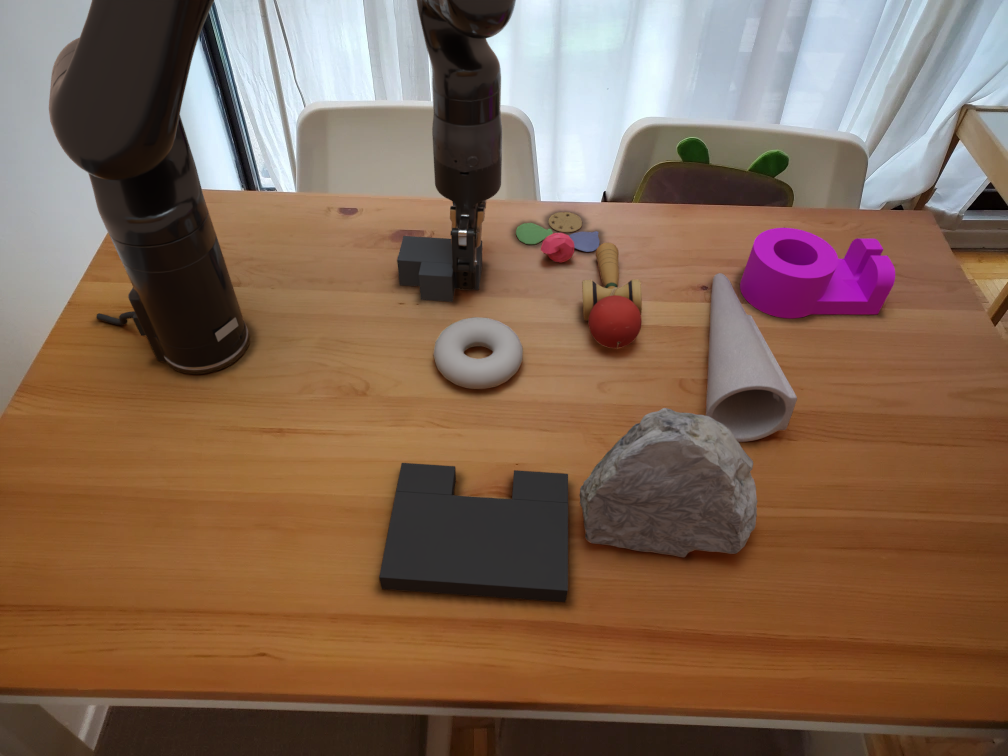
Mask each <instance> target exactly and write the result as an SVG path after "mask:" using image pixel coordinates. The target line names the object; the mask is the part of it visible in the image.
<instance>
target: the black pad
mask: <svg viewBox="0 0 1008 756" xmlns="http://www.w3.org/2000/svg"><path fill="white" fill-rule="evenodd" d="M456 469H457V468H456V466H455V465H445V464H444V465H442V464H427V463H413V462H401V463H400V469H399V474H398V479H397V480H398V481H397V485H396V490H395V493H394V499H393V503H392V510H391V515H390V520H389V525H388V530H387V536H386V540H385V545H384V550H383V555H382V561H381V566H380V569H379V570H380V571H379V576H378V578H379V583H380V588H381V590H388V591H400V592H401V591H402V592H416V593H431V594H432V593H433V594H445V595H458V596H474V597H488V598H500V599H513V600H516V599H517V600H528V601H543V602H558V603H566V602H567V598H568V592H569V473H563V472H550V471H549V472H546V471H534V470H533V471H532V470H516V469H514V470H513V478H512V492H511V493H512V494H511V498H501V497H485V496H472V495H471V496H469V495H455V490H456V483H457V475H456V474H457V472H456V471H457V470H456Z"/></svg>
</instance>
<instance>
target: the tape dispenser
mask: <svg viewBox="0 0 1008 756" xmlns="http://www.w3.org/2000/svg"><path fill="white" fill-rule="evenodd" d="M883 251H884V248H883V246H882V244H881V243H880V241H879V240H878V239H877V238H872V237H871V238H870V237H869V238H864V237H863V238H859V237H856V238H854V239H853V240H852V241H851V242H850V245H849V246H848V249H847V250H846V254H845V255H844V257H843V258H839V256H838V253H837V252H836V250H835V248H834V247H833V246H832V245H831V244H830V243H829V242H828V241H826V240H825V239H824V238H822V237H820V236H818V235H817V234H814V233H812V232H810V231H806V230H803V229H798V228H793V227H775V228H769V229H766V230H764V231H762V232H760V233H759V234H758V235H757V236H756V237H755V239H754V240H753V243H752V246H751V250H750V253H749V256H748V258H747V261H746V264H745V266H744V271H743V273H742V276H741V278H740V282H739V290H740V293H741V295H742V297H743V298H744V299H745V301H747V303H749V304H750V305H751V306H752V307H753V308H755V309H756V310H759V311H760V312H761V313H763V314H764V313H765V314H767V315H770V316H773V317H775V318H781V319H801V318H804V317H808V316H810V315H879V313H880V311H881V309H882V308H883V305H884V304H885V302H886V300H887V298H888V296H889V295H890V293H891V291H892V290H893V287H894V285H895V282H896V281H895V280H896V268H895V266H894V264H893V262H892V260H891V258H890V257H889V256H888V255H882V253H883Z"/></svg>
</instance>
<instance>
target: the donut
mask: <svg viewBox="0 0 1008 756" xmlns="http://www.w3.org/2000/svg"><path fill="white" fill-rule="evenodd" d="M473 347H483V348H487V349H488V350H490V351H492V353H491V354H490V355H488V356H486V357H482V358H475V357H471V356H469V355H467V354H465V351H466V350H468V349H470V348H473ZM523 348H524V347H523V345H522V342H521V340H520V337H519V336H518V334H517V333H516V332H515V330H513V328H511V327H510V326H509V325H507V324H505V323H504V322H502V321H500V320H497V319H493V318H490V317H480V316H479V317H478V316H472V317H467V318H463V319H460V320H457V321H454V322H453V323H450V325H448V326H447V327H445V328H444V329H443V330H442V331H441V332H440V334H439V335H438V337H437V339H436V340H435V342H434V349H433V355H432V356H433V359H434V362H435V365H436V366H435V367H436V369H437V370H438V371H439V372H440V374H441V375H442V376H443V377H444V378H445V379H446V380H448V381H449V382H451V383H453V384H454V385H456V386H459V387H461V388H464V389H470V390H471V389H472V390H486V389H490V388H496V387H498V386H500V385H502V384H504V383H506V382H508V381H509V380H510V379H511V378H512V377H513V376H514V375H515V374H516V373H517V372H518V371H519V368H520V366H521V364H522V362H523V356H524V355H523V354H524V353H523V352H524V349H523Z"/></svg>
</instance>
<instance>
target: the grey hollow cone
mask: <svg viewBox="0 0 1008 756" xmlns="http://www.w3.org/2000/svg"><path fill="white" fill-rule="evenodd" d="M773 353H774V352H772V350H771V348H770V346H769V344H768V343H767V341H766V339H765V338H764V335H763V333H762V332H761V330H760V329H759V327H758V325H757V322H756V321H755V320H754V317H753V316H752V314H748V313H747V312H746V310H745V308H744V306H743V304H742V303H741V301H740V299H739V297H738V295H737V294H736V291H735V289H734V287H733V285H732V282H731V280H730V279H729V278H728V277H727V276H726V275H725V274H724V273H722V272H718V273H716V274H714V275H713V277H712V285H711V295H710V316H709V339H708V358H707V359H708V360H707V361H708V362H707V386H706V387H707V388H706V402H705V416H709V417H711V418H713V419H714V420H715V421H717V422H719V423H722V424H723V425H725V426H726V427H727V428H728V429H730V431H731V432H732V434H733V435H734V437H735V439H736V440H737V441H738V442H739V443H746V442H752V441H757V440H760V439H763V438H766V437H769V436H770V435H773V434H774V433H776V432H778V431H786V430H787V428H788V426H789V424H790V421H791V418H792V415H793V412H794V410H795V406H796V404H797V401H798V397H797V395H796V393H795V391H794V389H793V387H792V386H791V383H790V382H789V380H788V378H787V376H786V375H785V373H784V371H783V370H782V368H781V366H780V364H779V363H778V361H777V359H776V356H775V355H774V354H773Z"/></svg>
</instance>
